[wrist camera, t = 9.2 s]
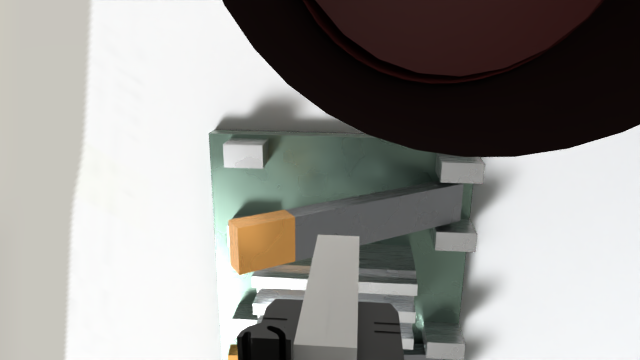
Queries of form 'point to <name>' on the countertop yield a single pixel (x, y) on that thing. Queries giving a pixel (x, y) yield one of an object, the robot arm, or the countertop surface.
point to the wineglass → (459, 68)
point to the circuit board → (374, 258)
